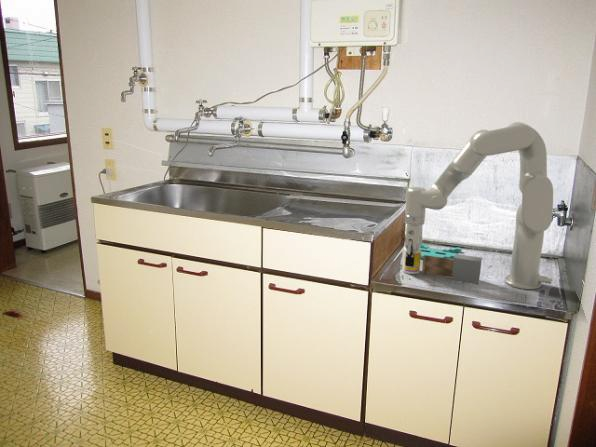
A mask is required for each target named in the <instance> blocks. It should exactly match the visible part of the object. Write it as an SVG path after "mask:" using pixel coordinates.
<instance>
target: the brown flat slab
mask: <svg viewBox="0 0 596 447" xmlns="http://www.w3.org/2000/svg"><path fill="white" fill-rule="evenodd" d="M453 261H454V259H449V258H442V257H435V256H428V255H424V256H423V260H422V268H421V269H422V270H421V273H422V274H428V275H434V276H439V277H445V278H446V277H448V278H452V272H453Z"/></svg>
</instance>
